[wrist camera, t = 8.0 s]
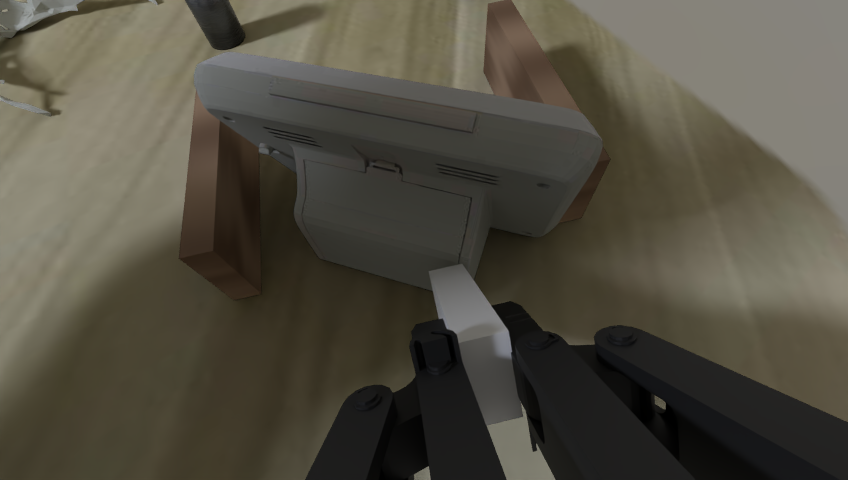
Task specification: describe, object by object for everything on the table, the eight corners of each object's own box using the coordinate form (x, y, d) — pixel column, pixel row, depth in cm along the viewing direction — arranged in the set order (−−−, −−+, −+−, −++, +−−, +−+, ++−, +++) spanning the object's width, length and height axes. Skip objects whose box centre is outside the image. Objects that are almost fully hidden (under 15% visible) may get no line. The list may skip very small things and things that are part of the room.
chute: (581, 217, 23) (610, 159, 18) (234, 300, 22) (178, 258, 17) (502, 67, 30) (510, -1, 25) (237, 124, 29) (198, 63, 24)
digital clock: (571, 221, 23) (648, 53, 14) (505, 360, 19) (549, 261, 10) (345, 130, 28) (290, -37, 19) (259, 227, 24) (137, 80, 15)
